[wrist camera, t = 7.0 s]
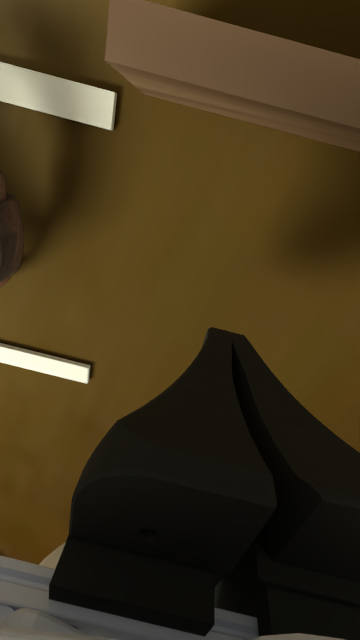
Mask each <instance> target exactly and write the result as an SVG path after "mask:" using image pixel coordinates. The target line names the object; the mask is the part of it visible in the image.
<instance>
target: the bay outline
mask: <svg viewBox="0 0 360 640" xmlns="http://www.w3.org/2000/svg"><path fill="white" fill-rule="evenodd" d="M116 100H117V93H115V92H112V91H108V90H104V89H100V88H97V87H93V86H89V85H85V84H82V83H78V82H74V81H70V80H67V79H63V78H59V77H55V76H52V75H48V74H44V73H40V72H37V71H33V70H29V69H25V68H22V67H18V66H14V65H10V64H7V63H3V62H0V101H2V102H6V103H10V104H14V105H17V106H21V107H25V108H29V109H32V110H36V111H40V112H44V113H48V114H51V115H55V116H59V117H63V118H67V119H70V120H74V121H78V122H82V123H85V124H89V125H93V126H97V127H101V128H104V129H108V130H112V131H113V130H114V120H115V110H116ZM0 362H2V363H6V364H10V365H14V366H18V367H22V368H26V369H30V370H34V371H38V372H42V373H46V374H50V375H54V376H58V377H62V378H66V379H71V380H75V381H79V382H83V383H88V381H89V374H90V365H88V364H84V363H80V362H75V361H71V360H67V359H63V358H59V357H55V356H51V355H47V354H43V353H39V352H35V351H31V350H27V349H23V348H19V347H15V346H11V345H7V344H3V343H0Z"/></svg>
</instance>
